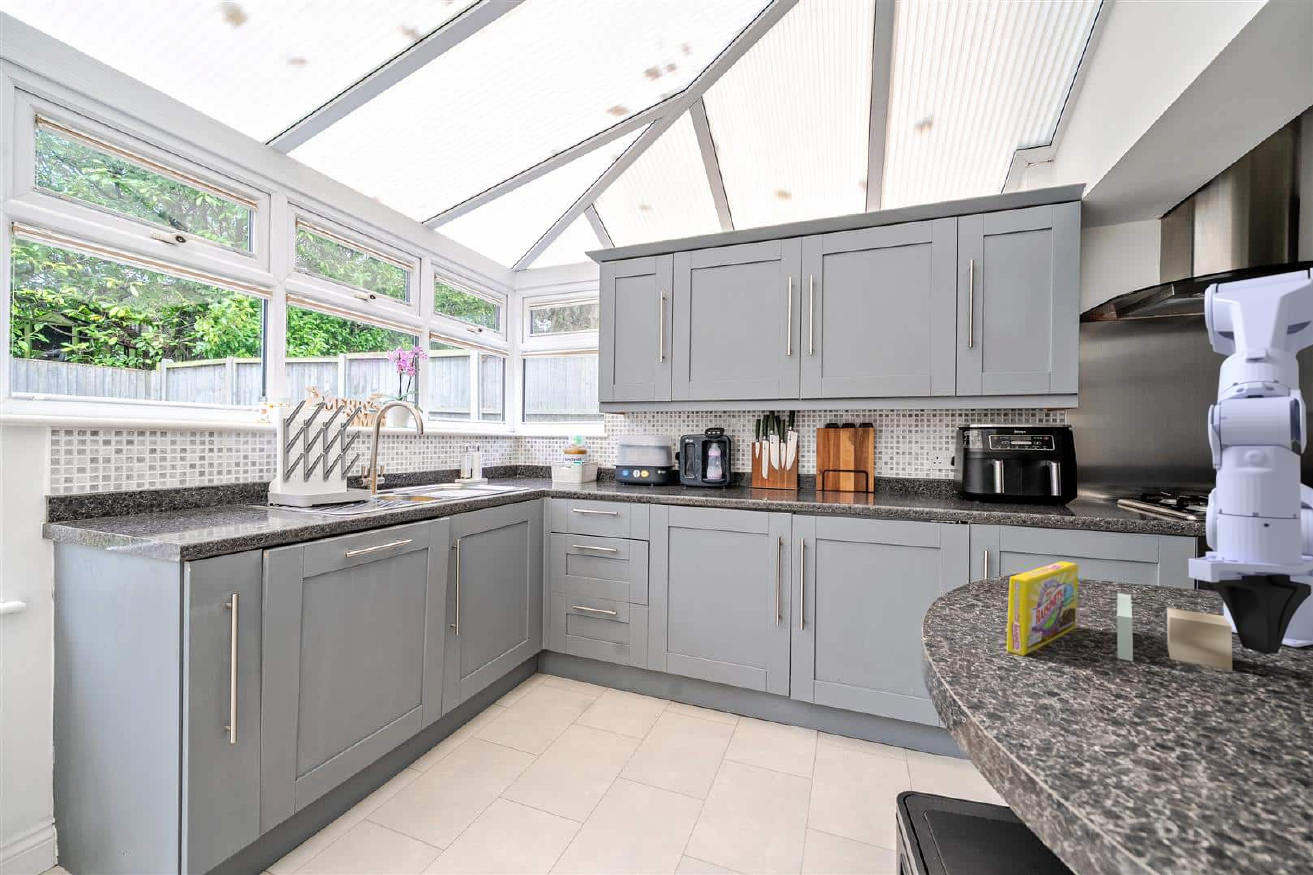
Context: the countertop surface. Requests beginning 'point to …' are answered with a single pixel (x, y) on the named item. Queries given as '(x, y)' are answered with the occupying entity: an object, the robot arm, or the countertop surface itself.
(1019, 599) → the candy box
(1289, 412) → the robot arm
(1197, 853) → the countertop surface
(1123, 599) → the sage board
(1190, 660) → the maple block
